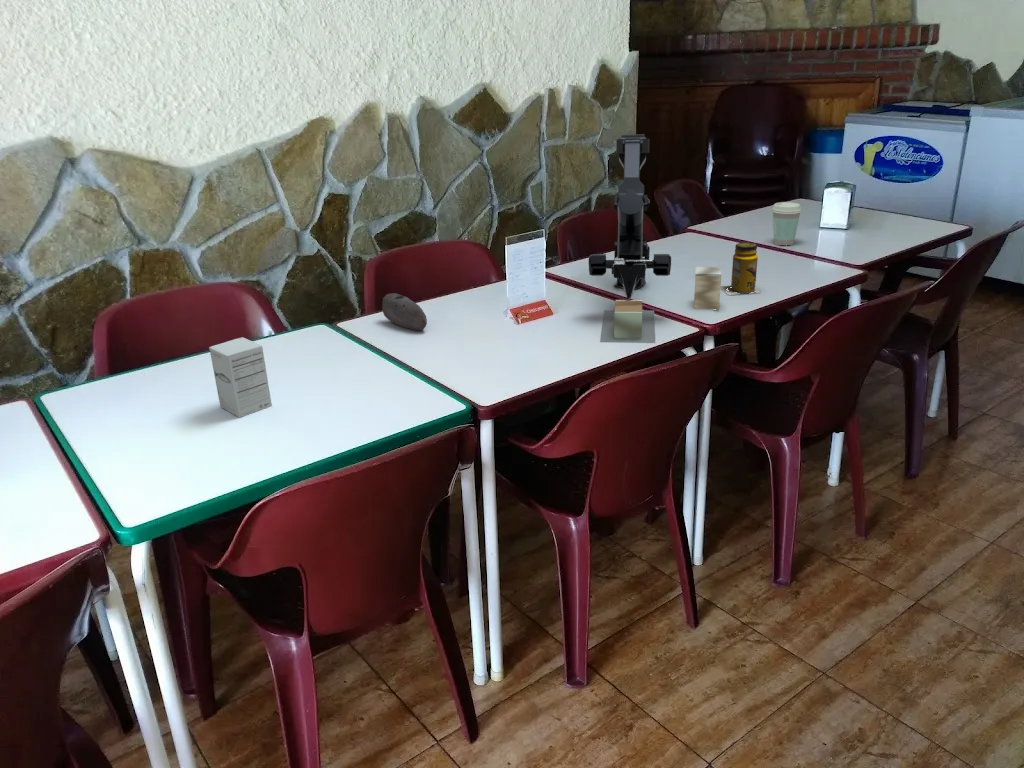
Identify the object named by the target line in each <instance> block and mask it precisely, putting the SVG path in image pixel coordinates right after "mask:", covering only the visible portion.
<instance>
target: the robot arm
mask: <svg viewBox="0 0 1024 768" xmlns="http://www.w3.org/2000/svg"><path fill="white" fill-rule="evenodd" d="M615 140H616V143H615V145H616V147H615V149H616V150H615V151H616V152H615V154H618V160H619V163H620V165H621V167H622V169H623V180H622V182H621V183H620V184H619V185H618V187H617V195H615V196H614V204H613V205H614V206H613V207H614V212H617V220H618V222H617V223H618V224H617V226H618V227H617V237H616V238H617V240H616V241H614V250H613V251H614V253H613V254H614V256H613V257H614V258H613V259H607V254H606V253H593V254H592V253H591V254H590V255H589V256H588V273H589V276H597V277H599V276H600V277H601V276H604V275H605V274H606V273H607V269H609V270H610V269H611V275H613V278H614V279H616V283H615V284H614V287H616V288H622V289H623V290H624V293H625V296H626V299H632V296H633V293H634V291H635V290H638V289H640V288H642V287H643V286H644V285H646V283H647V281H646V271H647V269H652V270H653V271H652V273H653V274H654V275H655V276H657V277H658V276H659V277H661V276H663V277H668V276H670V275H671V269H672V256H671V255H670V254H669V253H653V259H650V250H651V247H650V246H649V244H648V241H645V233H644V231H643V229H644V225H643V224H644V214H645V211H647V212H648V209H650V208H651V202H650V201H651V200H650V199H649V197H648V194H645V185H644V184H643V183H642V181H641V180H640V179H641V169H642V167H643V166H644V164H645V163H646V161H647V154H649V153H650V138H647V137H646V136H645V133H643V134H642V133H641V134H638V133H637V134H621V136H620V137H619V138H617V139H615Z"/></svg>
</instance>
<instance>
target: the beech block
mask: <svg viewBox="0 0 1024 768" xmlns="http://www.w3.org/2000/svg"><path fill="white" fill-rule="evenodd" d="M694 275H695V277H694V294H693V296H694V297H693V309H708V310H709V309H710V310H711V309H712V310H713V309H716V310H715V311H720V304H721V286H722V284H721V283H722V267H720V266H719V267H717V266H716V267H714V266H713V267H711V266H709V267H708V266H695V273H694Z"/></svg>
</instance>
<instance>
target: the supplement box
mask: <svg viewBox="0 0 1024 768" xmlns="http://www.w3.org/2000/svg"><path fill="white" fill-rule="evenodd" d="M208 350H209V353H210V354H209V355H210V357H211V358H210V359H211V365H212V369H213V374H214V375H213V376H214V379H215V381H214V382H215V386H216V390H217V397H218V401H219V406H220V408H222V409H224V410H226V411H227V412H229V413H231V414H233V415H234V416H236V417H237V418H242V417H245V416H248V415H251V414H252V413H256V412H260V411H262V410H264V409H267V408H270V407H272V406H273V404H272V398H271V392H270V387H269V379H268V373H267V367H266V361H265V356H264V355H265V354H264V349H263V345H261V344H259V343H257V342H255V341H252V340H250V339H248V338H245V337H243V336H242V337H238V338H234V339H232V340H227V341H225V342H222V343H218V344H215V345H212V346H209V347H208Z"/></svg>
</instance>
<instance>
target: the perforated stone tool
mask: <svg viewBox="0 0 1024 768" xmlns="http://www.w3.org/2000/svg"><path fill="white" fill-rule="evenodd" d="M382 314H383V316H384V317H385V318H386V319H387V320H388V321H390V322H391V323H393V324H395V325H397V326H400V327H403V328H407V329H410V330H414V331H422V330H425V328H426V326H427V325H428V319H427V315H426V314H425V312H424V310H423V308H422V307H420V305H419V304H418V303H416V302H414V300H411V299H410V298H409V297H407V296H404V295H402V294H398V293H395V292H394V293H393V292H392V293H390V292H389V293H388V294H386V295H384V297H383V298H382Z"/></svg>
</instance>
